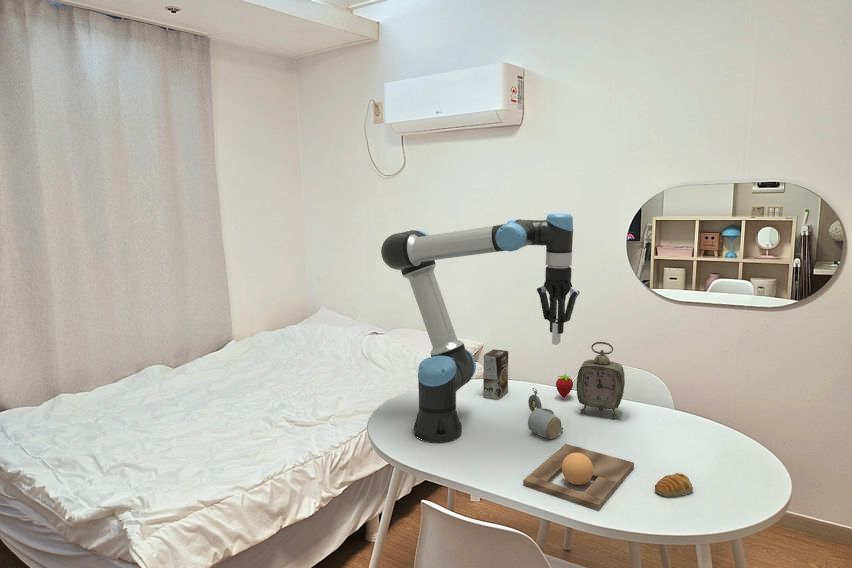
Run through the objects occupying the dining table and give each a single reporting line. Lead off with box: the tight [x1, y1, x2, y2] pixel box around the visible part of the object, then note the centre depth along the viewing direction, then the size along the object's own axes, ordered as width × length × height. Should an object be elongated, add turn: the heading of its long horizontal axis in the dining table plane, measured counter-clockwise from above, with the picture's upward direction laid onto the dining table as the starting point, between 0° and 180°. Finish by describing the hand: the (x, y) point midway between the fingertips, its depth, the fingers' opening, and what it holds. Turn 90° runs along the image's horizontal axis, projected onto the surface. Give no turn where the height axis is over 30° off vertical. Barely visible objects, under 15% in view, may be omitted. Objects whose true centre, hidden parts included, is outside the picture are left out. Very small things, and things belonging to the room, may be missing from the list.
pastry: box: [654, 472, 694, 498], centre depth 146 cm, size 9×7×4 cm
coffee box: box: [482, 348, 509, 400], centre depth 213 cm, size 9×6×16 cm
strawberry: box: [555, 372, 574, 399], centre depth 209 cm, size 6×8×10 cm
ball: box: [561, 453, 593, 486], centre depth 150 cm, size 8×8×8 cm
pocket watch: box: [528, 387, 554, 415], centre depth 194 cm, size 8×8×10 cm
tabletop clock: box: [576, 341, 626, 419], centre depth 194 cm, size 14×9×25 cm, turn 65°
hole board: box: [522, 443, 635, 511], centre depth 154 cm, size 20×26×2 cm
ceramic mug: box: [527, 407, 564, 440], centre depth 180 cm, size 11×8×8 cm
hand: (556, 343), depth 175 cm, fingers closed
